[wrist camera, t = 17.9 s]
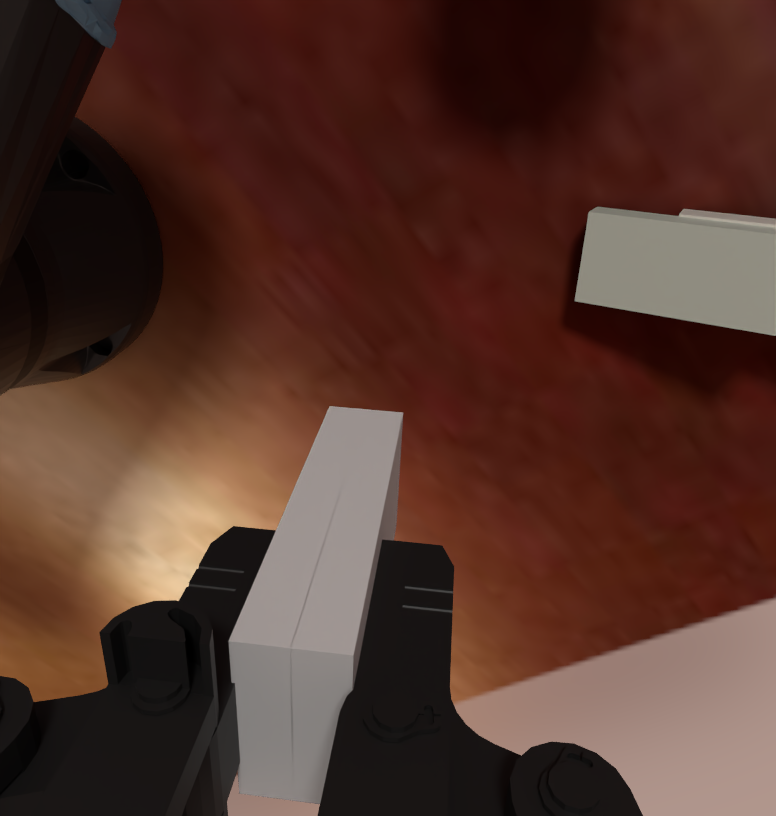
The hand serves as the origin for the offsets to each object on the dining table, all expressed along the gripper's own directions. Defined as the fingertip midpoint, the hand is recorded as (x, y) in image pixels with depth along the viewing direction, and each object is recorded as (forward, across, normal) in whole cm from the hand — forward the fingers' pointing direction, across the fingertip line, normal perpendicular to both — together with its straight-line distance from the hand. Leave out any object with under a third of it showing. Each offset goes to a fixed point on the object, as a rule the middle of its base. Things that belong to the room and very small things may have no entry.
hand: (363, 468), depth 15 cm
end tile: (+23, +8, 0) cm, 25 cm away
